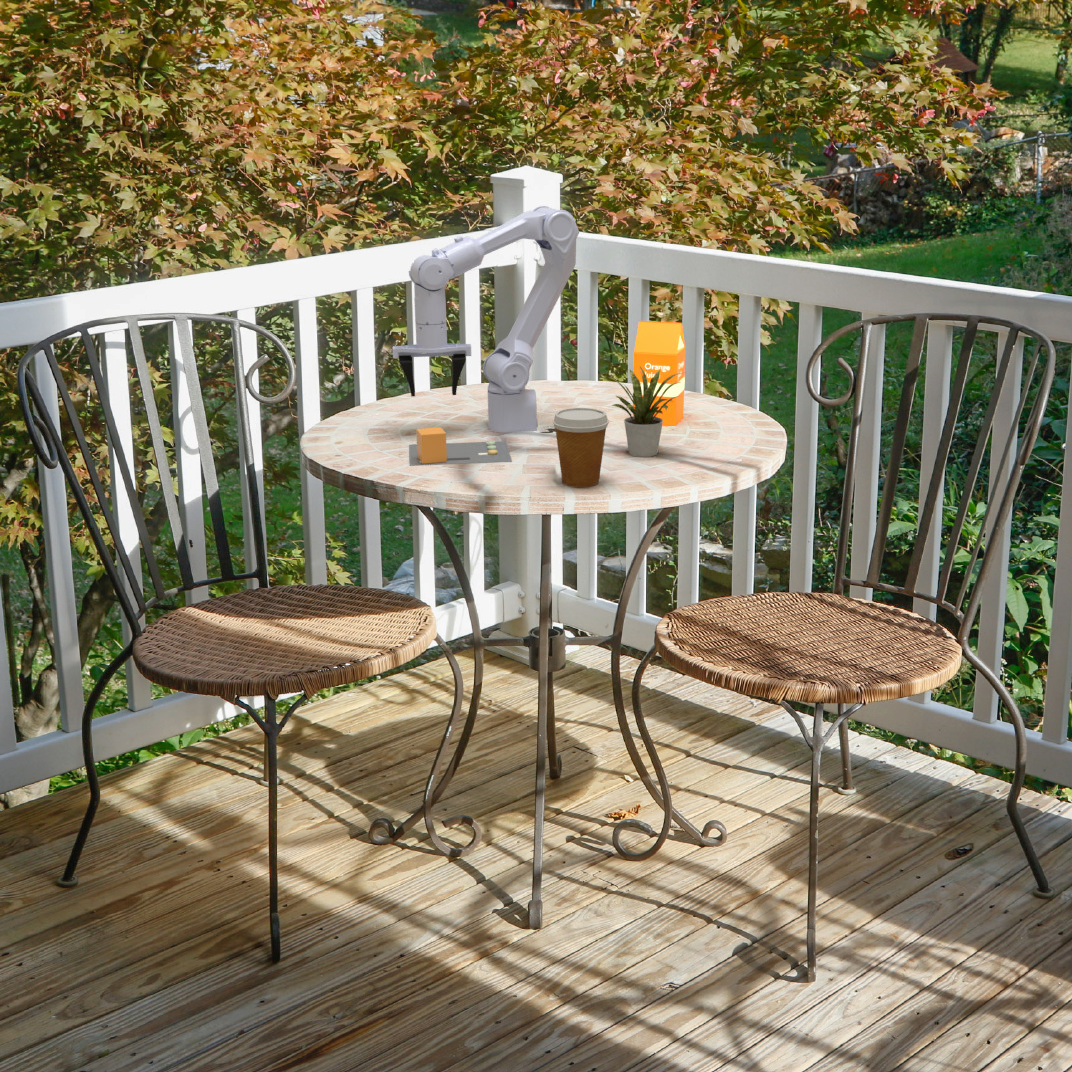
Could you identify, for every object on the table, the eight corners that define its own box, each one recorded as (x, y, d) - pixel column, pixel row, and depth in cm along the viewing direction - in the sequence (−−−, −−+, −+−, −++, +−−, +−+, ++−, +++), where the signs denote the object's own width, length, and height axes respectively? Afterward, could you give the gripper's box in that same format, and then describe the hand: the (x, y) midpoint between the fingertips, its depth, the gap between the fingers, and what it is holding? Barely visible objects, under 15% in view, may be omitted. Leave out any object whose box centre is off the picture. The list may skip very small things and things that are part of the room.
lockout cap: (441, 455, 234) (440, 427, 233) (446, 461, 230) (446, 433, 229) (417, 457, 233) (416, 429, 232) (422, 463, 229) (421, 435, 228)
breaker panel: (506, 448, 244) (505, 438, 243) (512, 469, 231) (511, 458, 230) (409, 452, 242) (408, 441, 242) (409, 473, 229) (409, 462, 229)
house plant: (704, 453, 240) (707, 365, 234) (656, 469, 230) (657, 377, 225) (644, 439, 249) (646, 354, 244) (596, 454, 240) (596, 366, 235)
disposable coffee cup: (612, 489, 219) (612, 419, 215) (555, 491, 219) (555, 421, 215) (604, 473, 228) (605, 406, 224) (550, 475, 228) (549, 407, 224)
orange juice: (675, 427, 258) (677, 326, 251) (632, 424, 261) (633, 324, 254) (683, 417, 265) (686, 319, 258) (641, 415, 268) (643, 317, 261)
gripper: (469, 317, 245) (471, 388, 250) (391, 319, 244) (394, 391, 248) (471, 324, 239) (473, 396, 243) (391, 326, 237) (394, 399, 242)
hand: (433, 394), depth 245 cm, fingers open, 7 cm apart
